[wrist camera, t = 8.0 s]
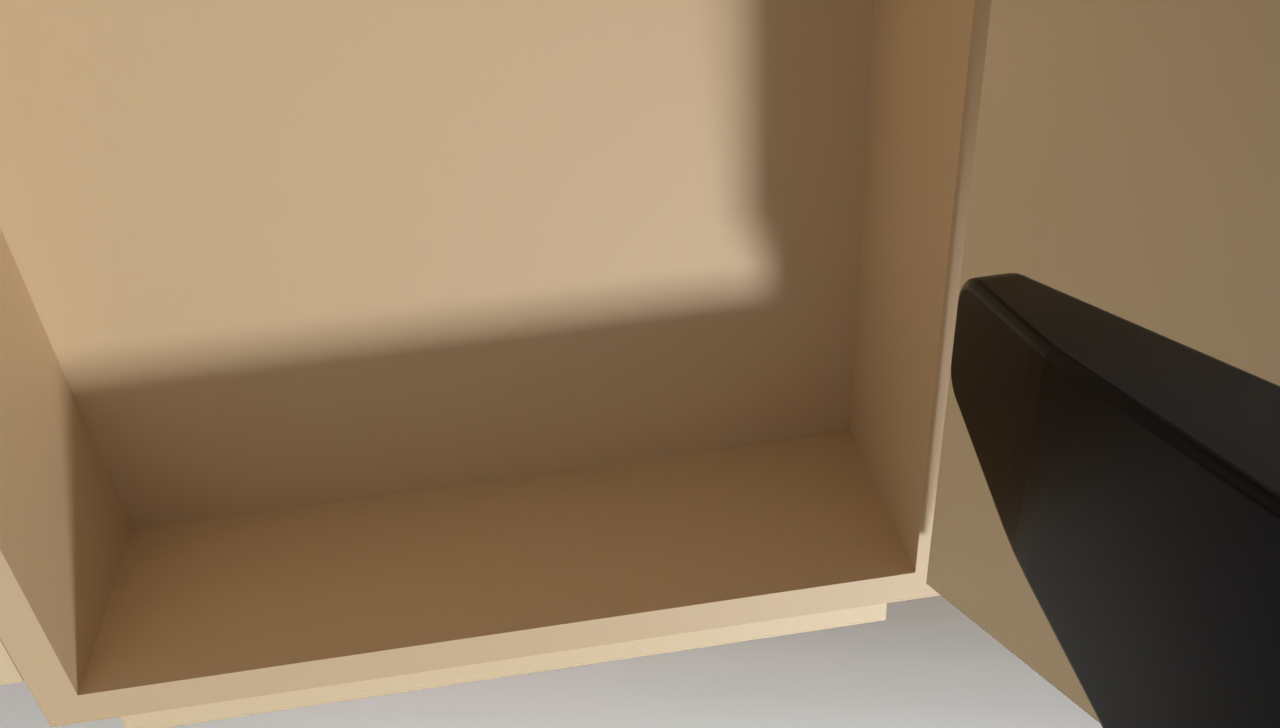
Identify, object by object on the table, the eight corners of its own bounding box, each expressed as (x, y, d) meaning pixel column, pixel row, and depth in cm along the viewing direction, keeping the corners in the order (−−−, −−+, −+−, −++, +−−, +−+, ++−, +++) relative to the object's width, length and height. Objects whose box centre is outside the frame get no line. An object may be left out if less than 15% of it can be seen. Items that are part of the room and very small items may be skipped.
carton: (872, 457, 22) (946, 613, 19) (95, 565, 21) (31, 750, 18) (971, -983, 11) (1181, -1200, 8) (-599, -913, 10) (-1083, -1131, 7)
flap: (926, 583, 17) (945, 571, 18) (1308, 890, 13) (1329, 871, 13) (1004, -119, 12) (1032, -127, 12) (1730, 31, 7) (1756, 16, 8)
